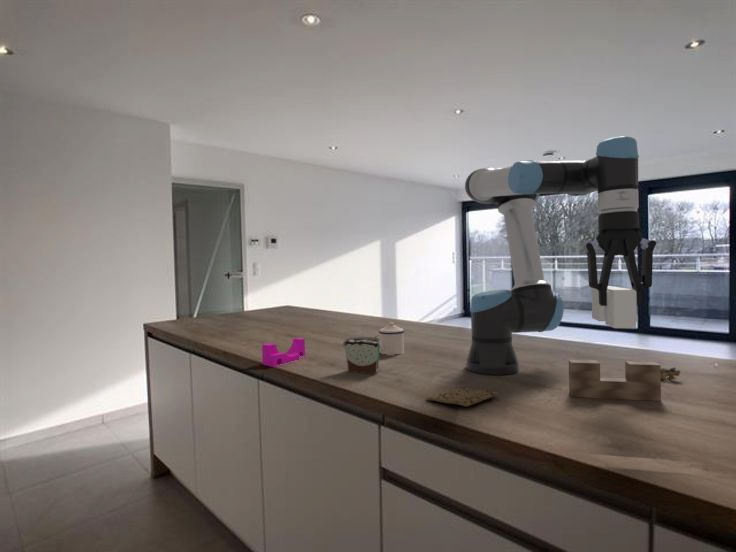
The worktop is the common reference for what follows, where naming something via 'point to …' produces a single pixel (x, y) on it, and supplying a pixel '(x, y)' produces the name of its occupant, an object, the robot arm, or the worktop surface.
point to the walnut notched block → (615, 381)
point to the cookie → (462, 396)
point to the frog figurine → (669, 374)
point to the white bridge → (617, 307)
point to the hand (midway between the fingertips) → (620, 320)
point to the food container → (362, 354)
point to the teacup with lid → (391, 339)
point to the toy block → (275, 358)
